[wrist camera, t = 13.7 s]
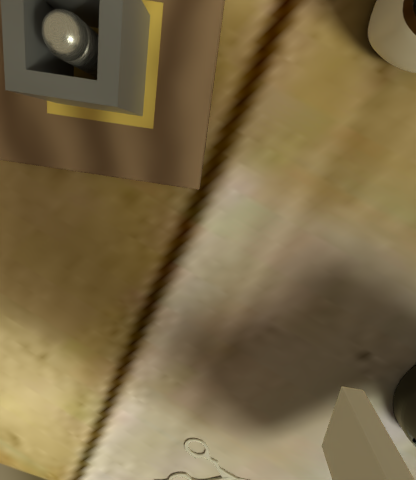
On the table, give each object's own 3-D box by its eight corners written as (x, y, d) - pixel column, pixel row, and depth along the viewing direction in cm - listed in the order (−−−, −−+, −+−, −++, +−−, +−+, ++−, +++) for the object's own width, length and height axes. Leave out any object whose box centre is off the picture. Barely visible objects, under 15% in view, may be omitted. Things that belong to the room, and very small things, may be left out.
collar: (150, 15, 26) (124, -31, 19) (142, 116, 28) (117, 106, 21) (56, 1, 26) (-3, -50, 19) (57, 103, 28) (5, 89, 21)
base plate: (231, -50, 25) (232, -64, 24) (199, 187, 31) (198, 189, 30) (-4, -85, 25) (-20, -101, 24) (9, 159, 31) (-2, 159, 30)
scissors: (178, 433, 41) (311, 480, 42) (179, 428, 42) (309, 474, 43) (154, 483, 44) (278, 526, 45) (155, 478, 45) (277, 520, 46)
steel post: (120, 44, 26) (78, 3, 19) (118, 82, 27) (77, 58, 20) (86, 39, 26) (30, -4, 19) (85, 77, 27) (32, 51, 20)
